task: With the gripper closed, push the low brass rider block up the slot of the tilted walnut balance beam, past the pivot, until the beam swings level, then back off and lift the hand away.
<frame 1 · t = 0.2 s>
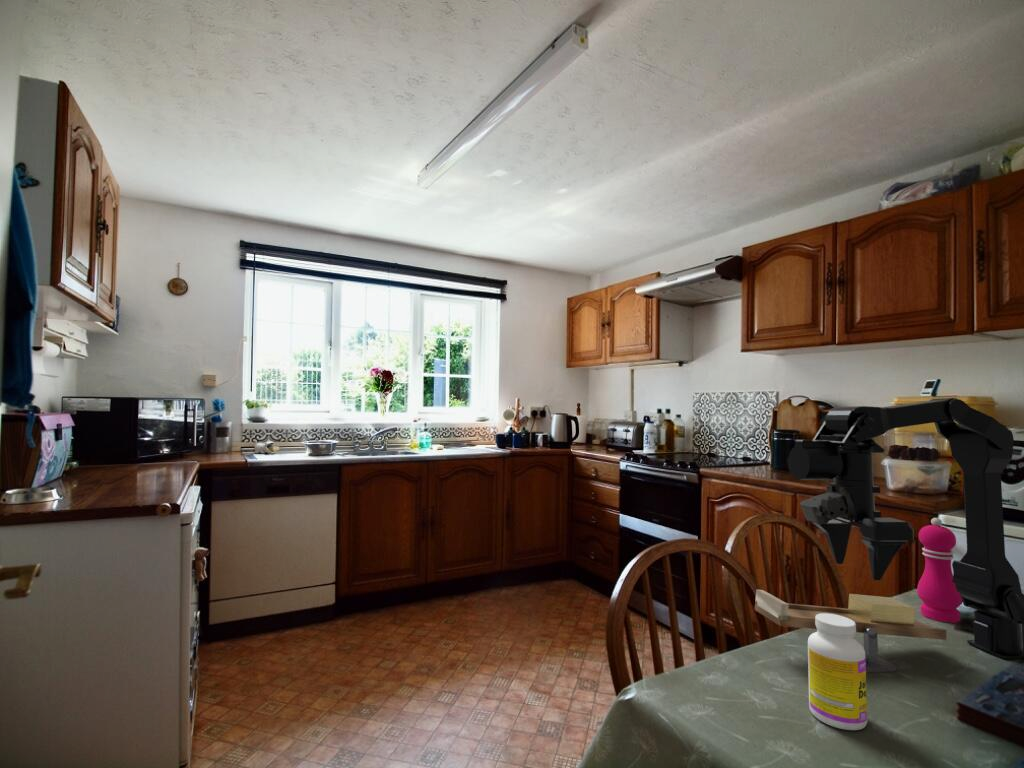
hand: (857, 571, 88), 14 cm above the table, fingers open, 9 cm apart
balance beam: (849, 614, 88), point 7 cm above the table, hinge at -6.3°, touching brass rider
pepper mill: (940, 618, 106), on the table
supplement bottle: (837, 719, 69), on the table
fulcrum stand: (849, 654, 88), on the table
brass rider: (880, 621, 89), point 5 cm above the table, tilted 6°, touching balance beam
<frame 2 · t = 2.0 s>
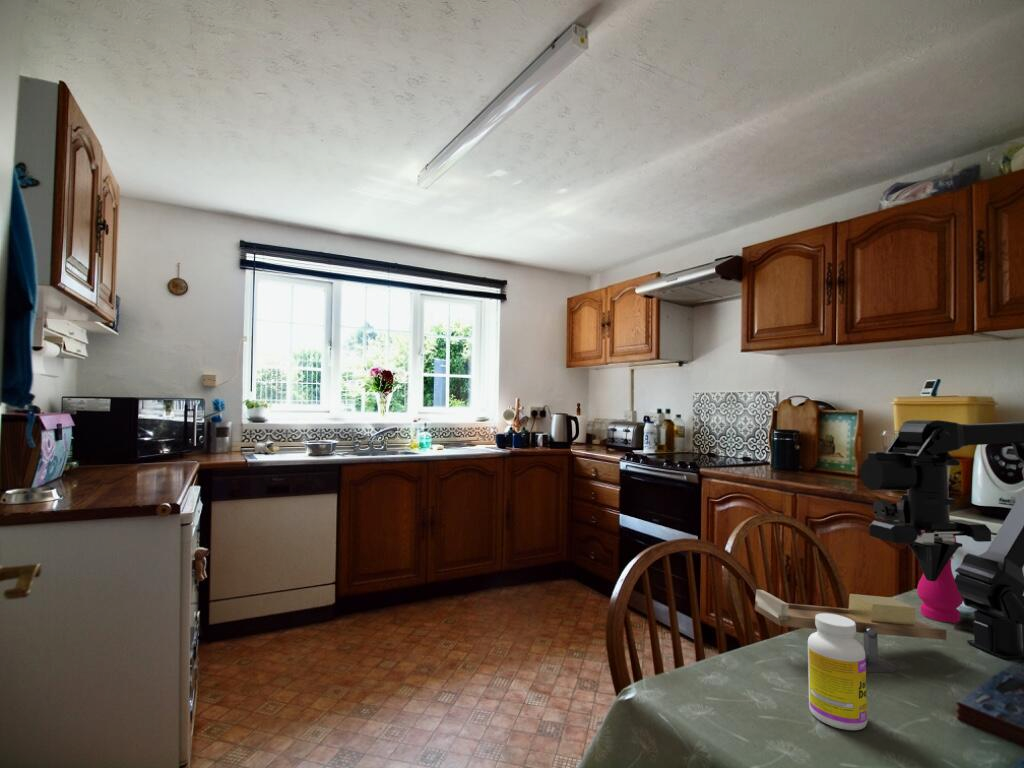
hand: (931, 580, 91), 12 cm above the table, fingers closed
nothing on the table moved.
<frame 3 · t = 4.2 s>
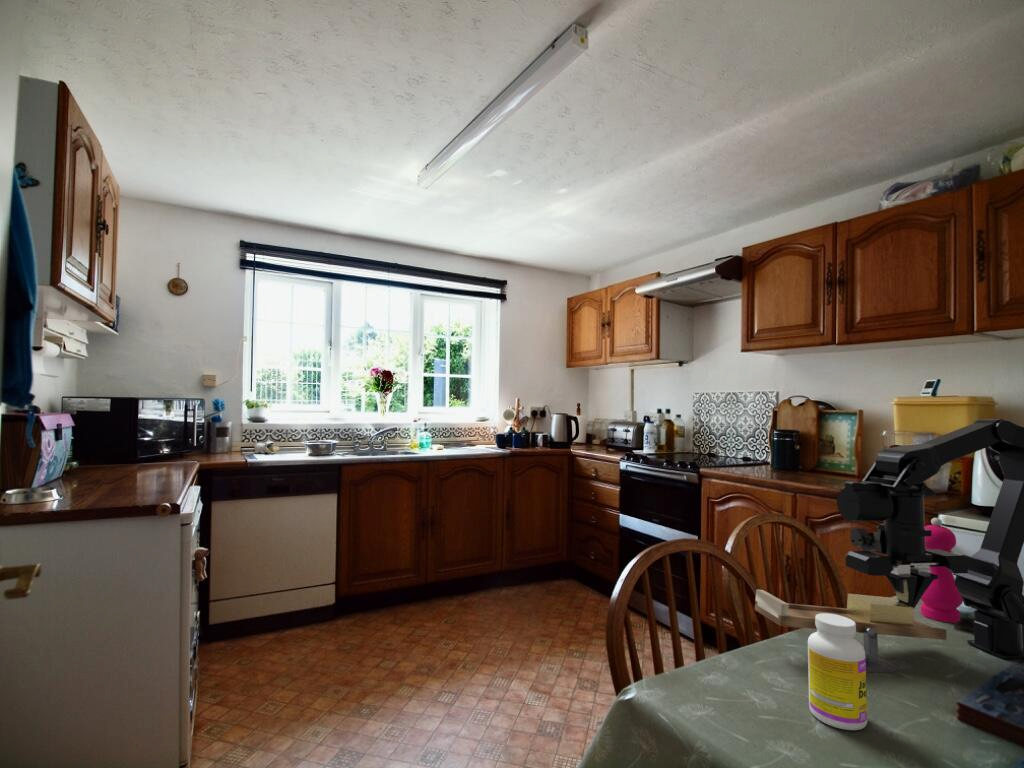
hand: (907, 612, 90), 7 cm above the table, fingers closed
balance beam: (849, 614, 88), point 7 cm above the table, hinge at -6.3°
brass rider: (878, 621, 89), point 5 cm above the table, tilted 6°, touching gripper
everything else where it was.
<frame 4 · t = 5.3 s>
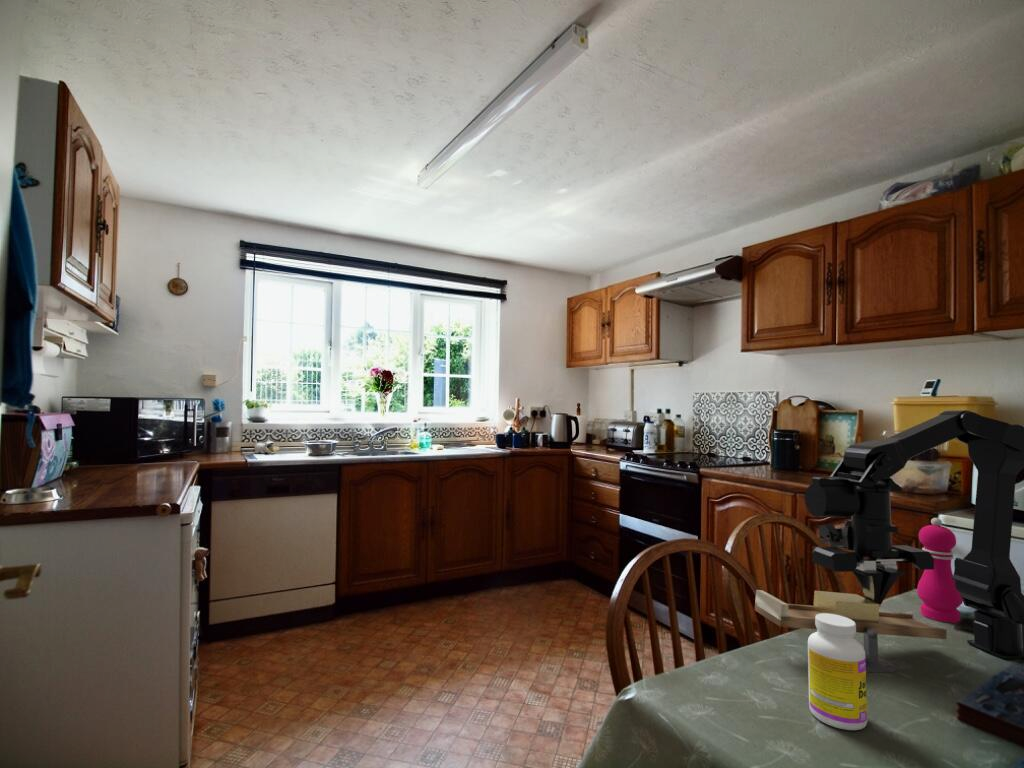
hand: (873, 608, 89), 7 cm above the table, fingers closed
balance beam: (849, 614, 88), point 7 cm above the table, hinge at -6.0°, touching brass rider
brass rider: (844, 618, 88), point 6 cm above the table, tilted 6°, touching balance beam, gripper
everything else where it was.
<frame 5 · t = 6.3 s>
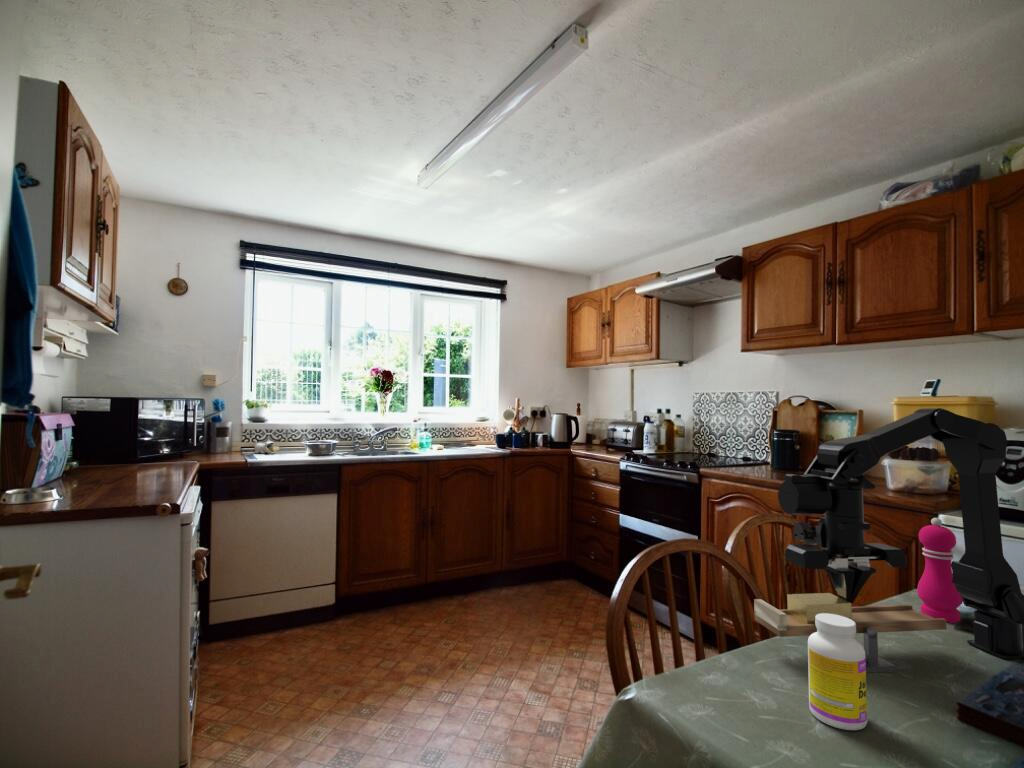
hand: (846, 606, 88), 8 cm above the table, fingers closed
balance beam: (848, 614, 88), point 7 cm above the table, hinge at 0.2°, touching brass rider
brass rider: (819, 619, 88), point 6 cm above the table, touching balance beam, gripper
everything else where it was.
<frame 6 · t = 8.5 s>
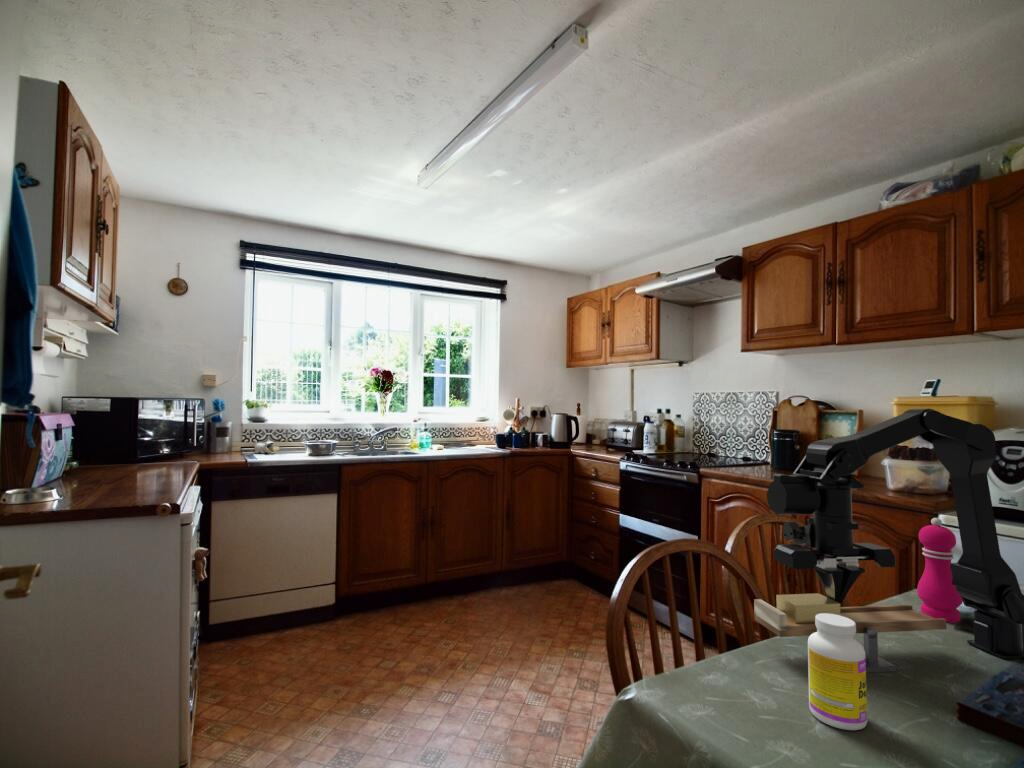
hand: (835, 606, 88), 8 cm above the table, fingers closed
brass rider: (808, 620, 87), point 6 cm above the table, touching balance beam, gripper
everything else where it was.
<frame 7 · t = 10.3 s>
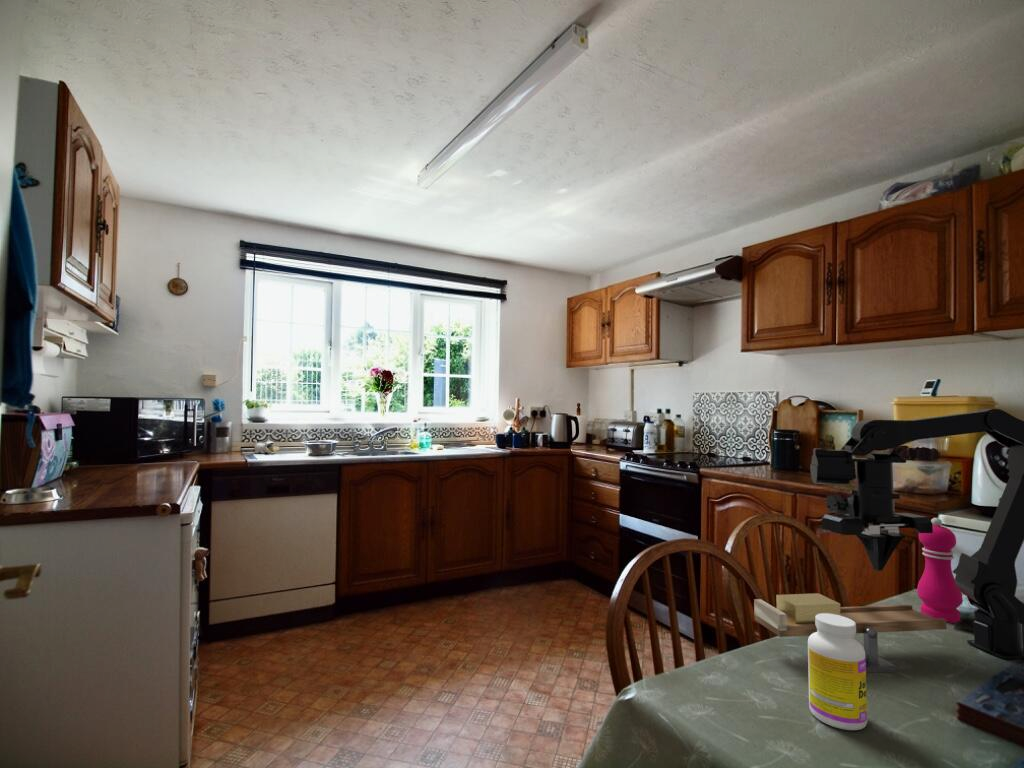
hand: (877, 570, 97), 12 cm above the table, fingers closed
brass rider: (808, 620, 87), point 6 cm above the table, touching balance beam
everything else where it was.
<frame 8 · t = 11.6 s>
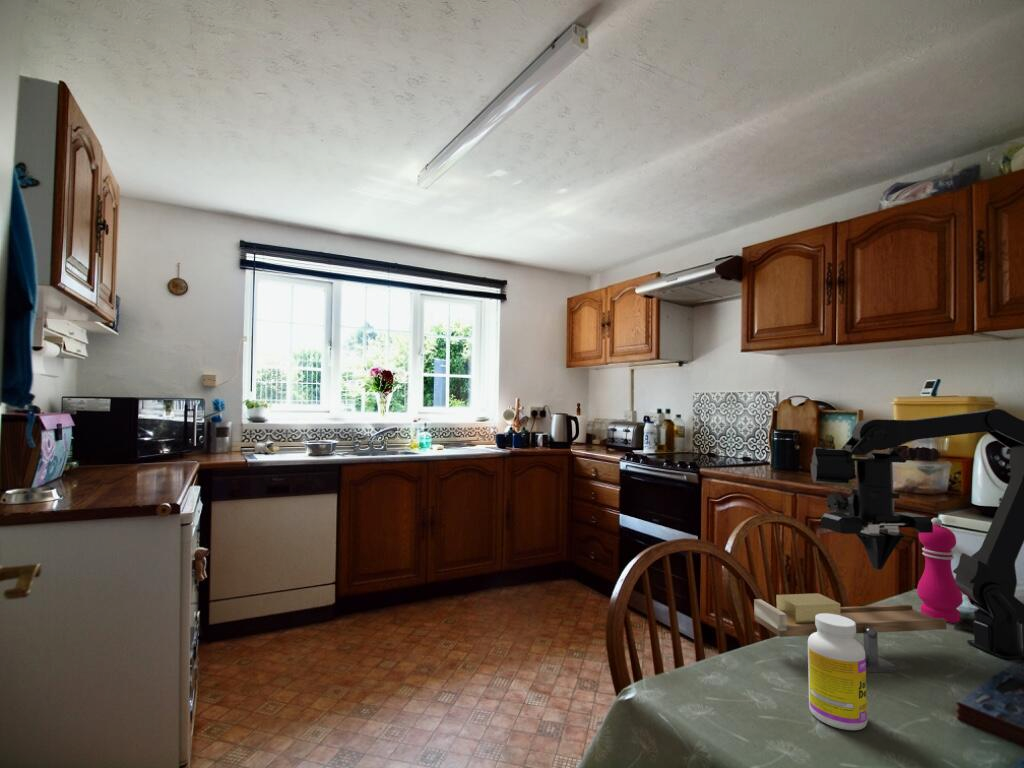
hand: (877, 569, 97), 12 cm above the table, fingers closed
nothing on the table moved.
at the end: balance beam at +0° (first picture: -6°); brass rider inside the target area on the balance beam (1.5 cm from its centre), point 0.5 cm above the balance beam's base; the gripper is holding nothing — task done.
